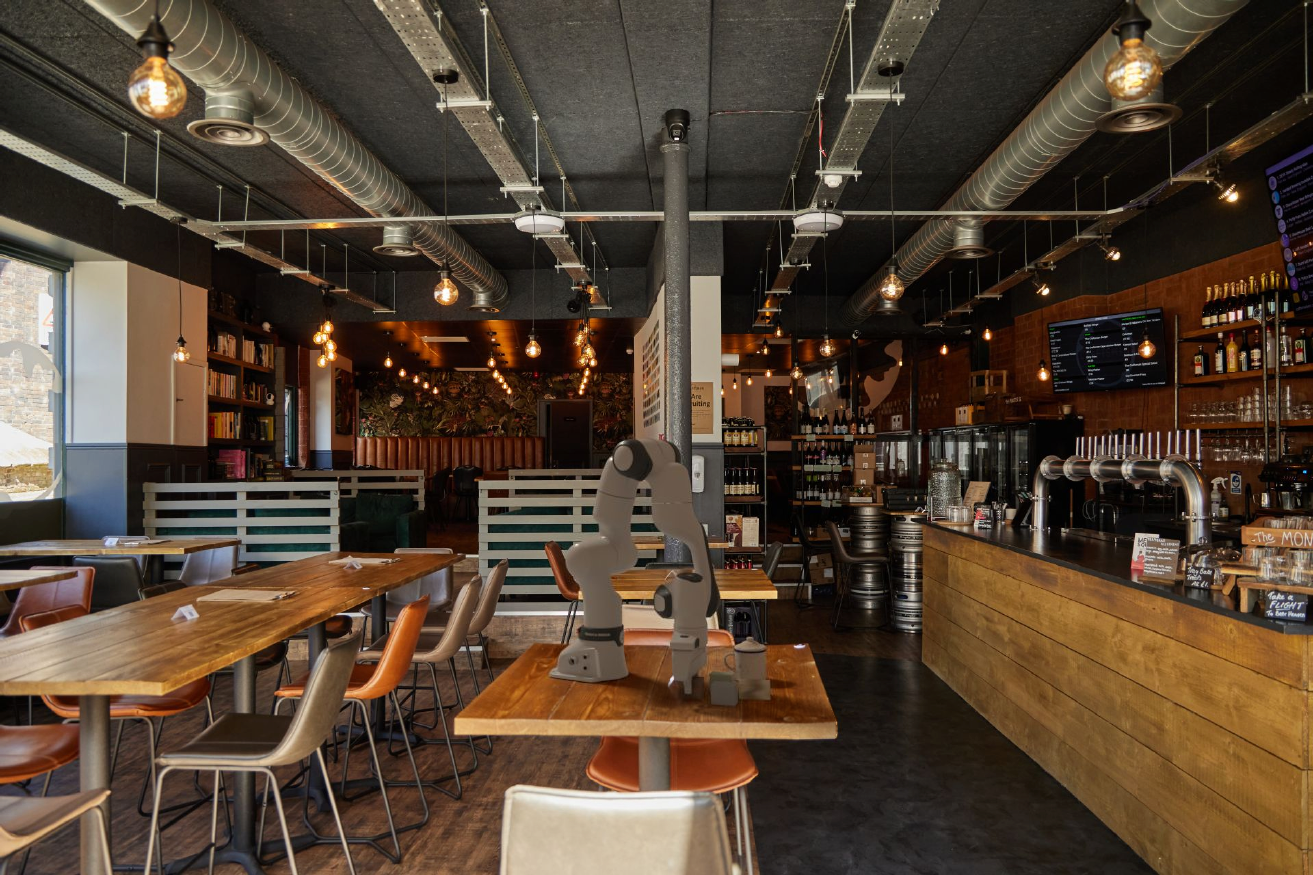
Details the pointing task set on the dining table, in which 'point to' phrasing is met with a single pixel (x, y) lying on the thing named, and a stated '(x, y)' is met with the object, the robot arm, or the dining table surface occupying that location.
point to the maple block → (754, 689)
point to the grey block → (724, 693)
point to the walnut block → (697, 689)
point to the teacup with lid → (749, 660)
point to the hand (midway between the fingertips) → (691, 690)
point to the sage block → (721, 677)
